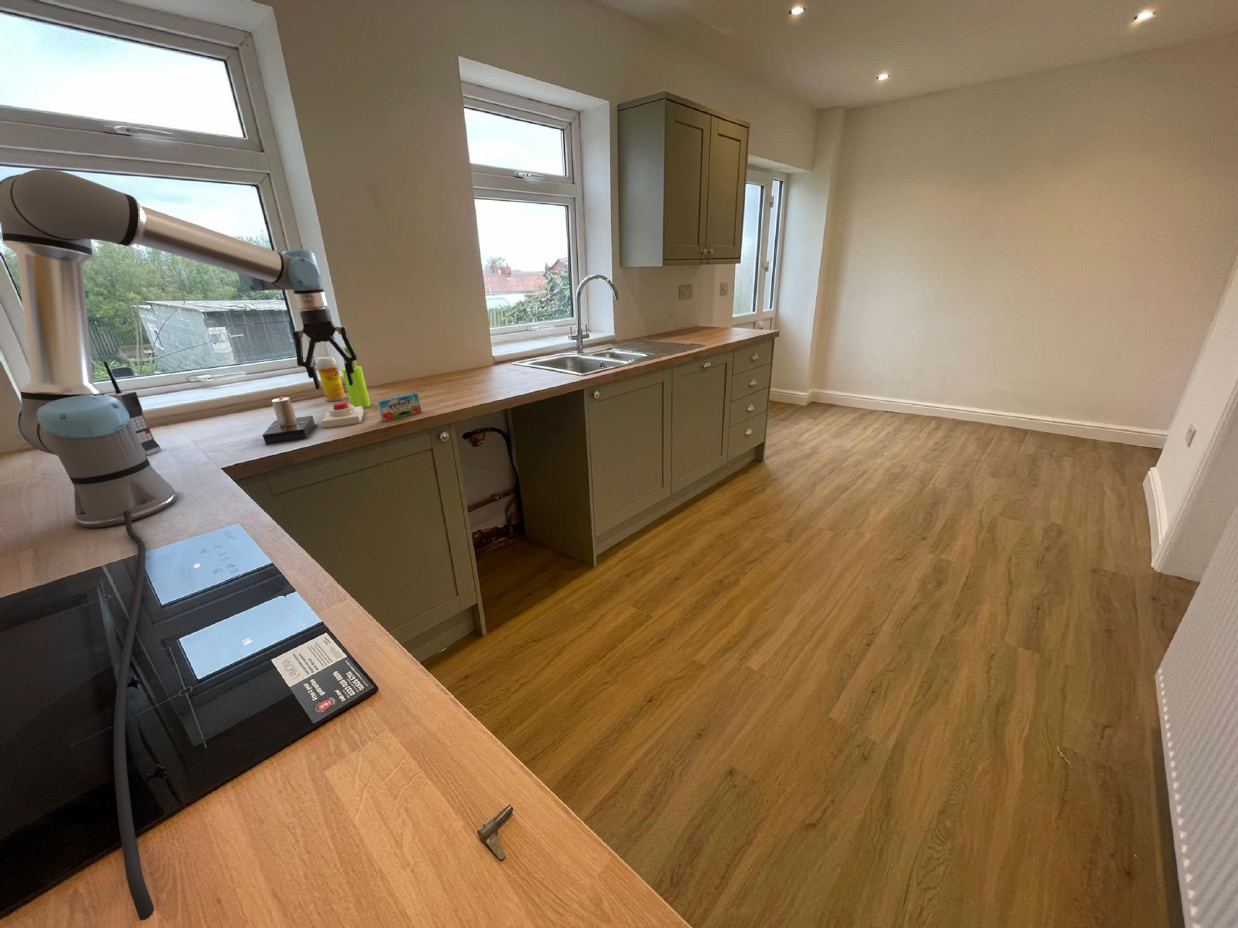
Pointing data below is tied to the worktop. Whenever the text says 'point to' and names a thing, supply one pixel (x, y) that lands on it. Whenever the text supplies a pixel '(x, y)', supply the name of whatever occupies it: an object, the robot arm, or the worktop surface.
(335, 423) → the switch block
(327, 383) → the yellow bottle
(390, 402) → the yogurt
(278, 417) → the beige upright cylinder
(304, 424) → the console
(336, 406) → the power button
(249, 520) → the worktop surface
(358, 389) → the soap dispenser
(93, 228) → the robot arm
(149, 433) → the vintage mobile phone
